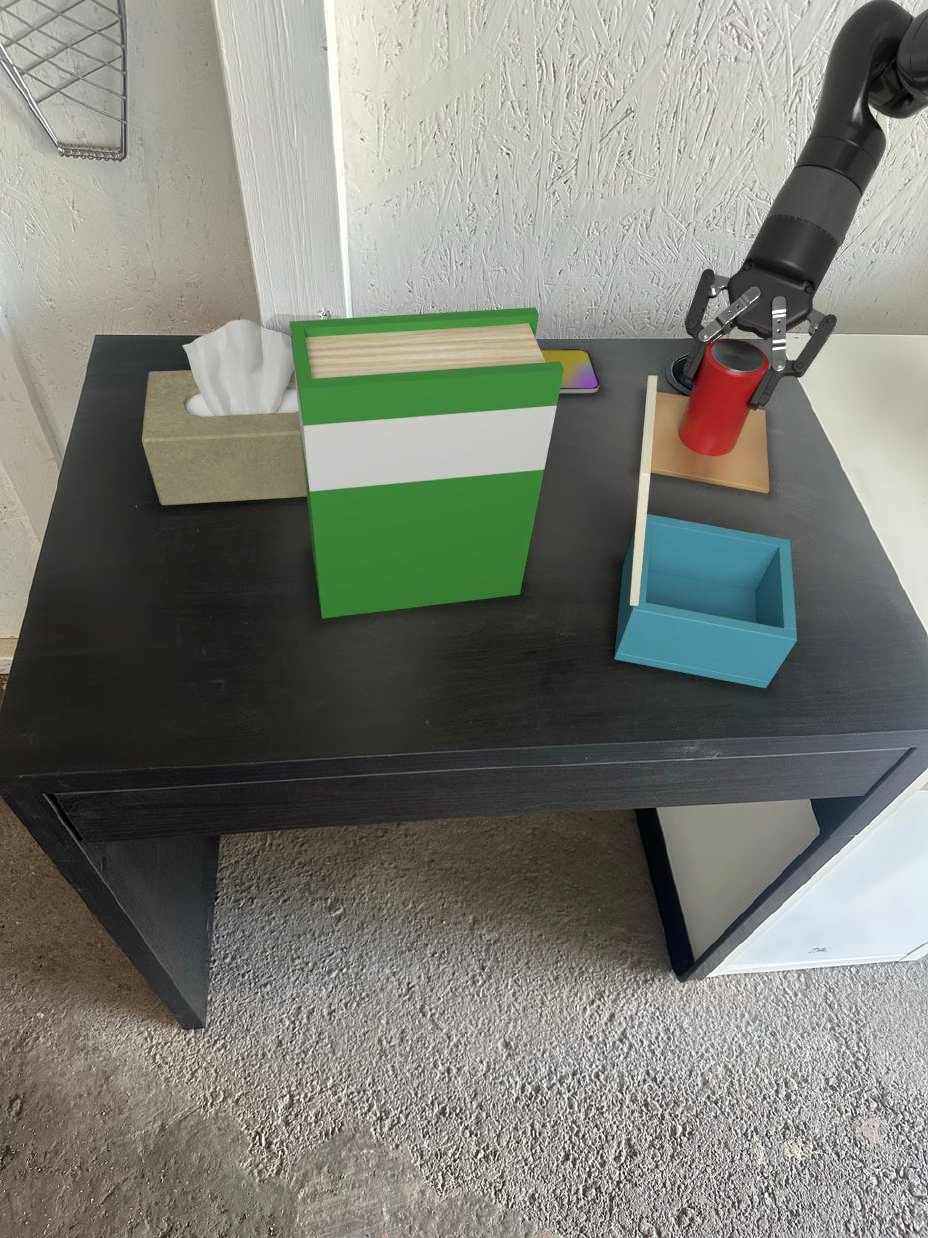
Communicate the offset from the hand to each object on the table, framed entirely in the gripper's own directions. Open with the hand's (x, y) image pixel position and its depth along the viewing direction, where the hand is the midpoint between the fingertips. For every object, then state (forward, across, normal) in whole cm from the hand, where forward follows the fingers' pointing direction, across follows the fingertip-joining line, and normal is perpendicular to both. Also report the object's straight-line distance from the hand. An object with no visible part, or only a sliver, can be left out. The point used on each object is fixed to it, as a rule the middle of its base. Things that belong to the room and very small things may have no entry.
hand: (720, 394), depth 85 cm
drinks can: (+3, 0, +6) cm, 7 cm away
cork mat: (+4, 0, +6) cm, 7 cm away
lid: (+13, +1, -23) cm, 26 cm away
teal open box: (+21, +8, -11) cm, 25 cm away
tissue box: (+26, -35, -15) cm, 46 cm away
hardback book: (+28, -15, -17) cm, 36 cm away
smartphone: (+5, -21, +5) cm, 22 cm away
